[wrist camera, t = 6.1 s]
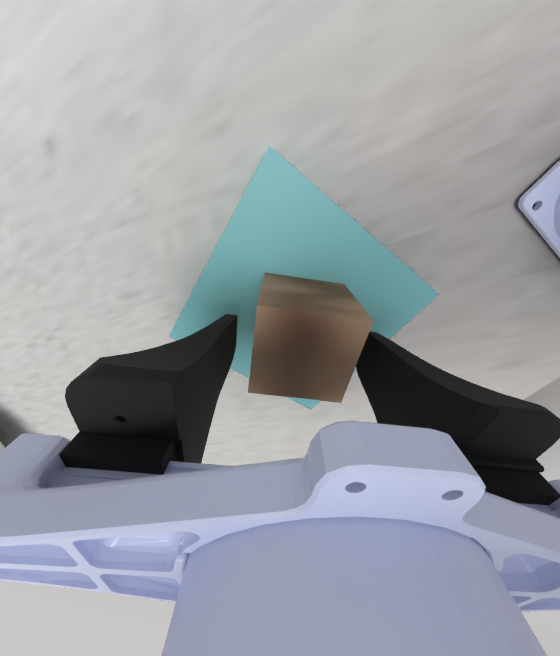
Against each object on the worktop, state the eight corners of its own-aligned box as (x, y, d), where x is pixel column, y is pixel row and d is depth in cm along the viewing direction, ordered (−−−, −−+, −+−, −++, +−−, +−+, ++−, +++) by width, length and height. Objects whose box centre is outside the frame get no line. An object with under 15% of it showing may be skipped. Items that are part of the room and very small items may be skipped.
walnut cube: (344, 284, 14) (373, 320, 9) (324, 349, 16) (340, 402, 12) (264, 272, 13) (256, 304, 9) (257, 340, 16) (247, 392, 11)
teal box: (414, 280, 17) (439, 294, 14) (307, 385, 22) (310, 409, 19) (271, 158, 13) (269, 145, 11) (185, 317, 18) (168, 336, 16)
